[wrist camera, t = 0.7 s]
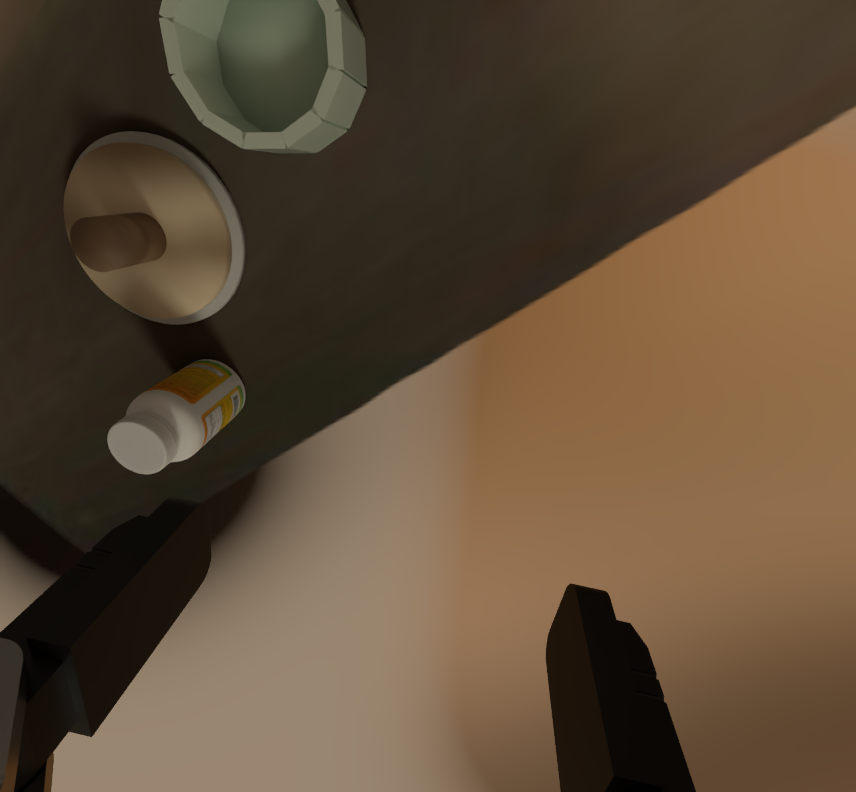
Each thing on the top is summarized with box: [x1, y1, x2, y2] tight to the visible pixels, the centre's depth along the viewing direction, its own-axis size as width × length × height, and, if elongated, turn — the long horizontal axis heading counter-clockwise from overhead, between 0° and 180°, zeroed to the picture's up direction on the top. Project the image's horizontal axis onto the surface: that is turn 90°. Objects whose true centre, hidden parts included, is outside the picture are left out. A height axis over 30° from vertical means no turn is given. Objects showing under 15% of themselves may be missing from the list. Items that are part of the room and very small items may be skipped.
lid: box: [64, 142, 232, 319], centre depth 31 cm, size 12×12×6 cm
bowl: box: [159, 0, 367, 153], centre depth 27 cm, size 10×10×5 cm
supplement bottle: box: [107, 359, 245, 474], centre depth 35 cm, size 5×5×10 cm
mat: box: [70, 131, 246, 325], centre depth 34 cm, size 13×13×1 cm
